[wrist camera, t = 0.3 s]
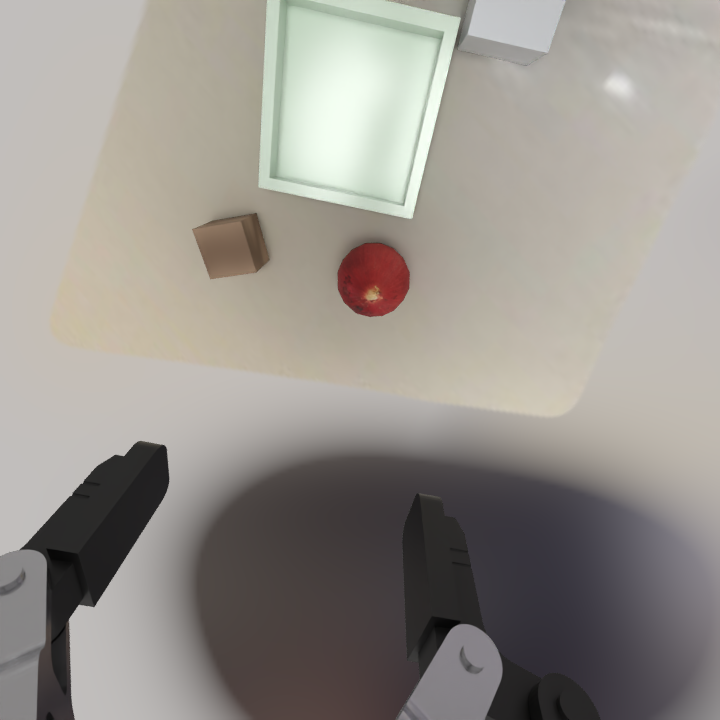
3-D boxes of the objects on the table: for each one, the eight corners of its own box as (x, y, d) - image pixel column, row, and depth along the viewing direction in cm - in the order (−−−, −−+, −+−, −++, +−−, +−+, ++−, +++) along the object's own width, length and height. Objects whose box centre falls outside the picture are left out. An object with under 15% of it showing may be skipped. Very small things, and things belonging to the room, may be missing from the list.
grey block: (476, -29, 24) (491, -59, 20) (551, -12, 24) (578, -38, 21) (456, 50, 26) (467, 34, 22) (526, 65, 26) (547, 53, 23)
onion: (375, 310, 36) (372, 349, 29) (329, 269, 34) (314, 300, 27) (420, 266, 33) (429, 297, 26) (373, 219, 32) (369, 239, 25)
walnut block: (213, 220, 33) (192, 229, 29) (256, 213, 32) (240, 221, 29) (228, 266, 34) (210, 279, 31) (269, 259, 34) (256, 272, 30)
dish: (278, -12, 25) (268, -27, 23) (454, 29, 25) (460, 18, 23) (267, 184, 31) (258, 187, 29) (410, 214, 31) (411, 219, 29)
